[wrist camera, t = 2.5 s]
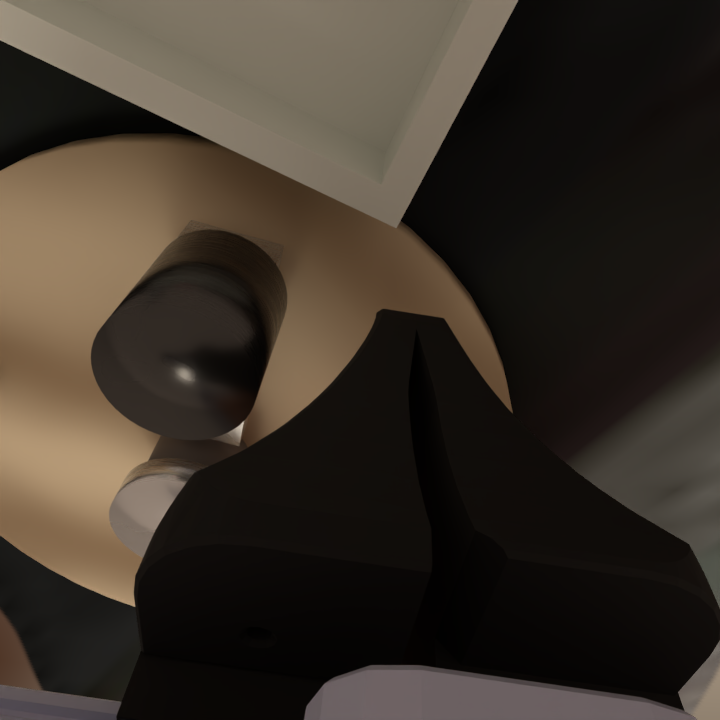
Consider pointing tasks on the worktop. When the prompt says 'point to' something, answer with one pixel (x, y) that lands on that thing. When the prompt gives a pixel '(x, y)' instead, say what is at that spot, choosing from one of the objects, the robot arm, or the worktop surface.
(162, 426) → the dark grey cylinder
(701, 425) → the worktop surface
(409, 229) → the crank plate
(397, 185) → the tray
